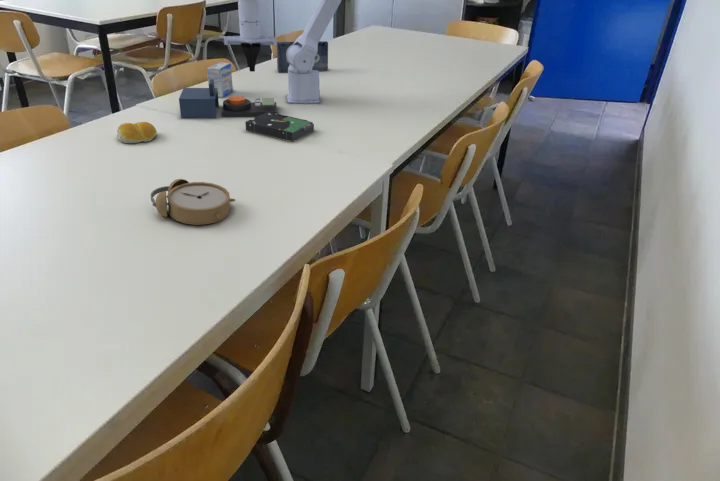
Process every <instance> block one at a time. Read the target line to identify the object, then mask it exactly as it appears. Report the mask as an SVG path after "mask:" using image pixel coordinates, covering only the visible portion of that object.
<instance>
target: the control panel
mask: <svg viewBox="0 0 720 481" xmlns="http://www.w3.org/2000/svg"><path fill="white" fill-rule="evenodd" d="M274 104H275V105H262V101H260V106H255V101H254V102H253V101H251V100H250V99H248V98H245V103H244V104H240V105H233V104H229V102H228V98H226V99H224V100H222V107H221V108H222V109H221V118H255V117H257V116H260V115H262V114H264V113H266V112H271V113H276V114H278V108H277V107H278V106H277V102H275V101H274Z"/></svg>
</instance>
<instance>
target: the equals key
mask: <svg viewBox="0 0 720 481" xmlns="http://www.w3.org/2000/svg"><path fill="white" fill-rule="evenodd" d="M227 99H228V102H229V104H233V105H240V104H244V103H245V99H246V97H245V96H241V95H233V96H229V97H228V98H227Z"/></svg>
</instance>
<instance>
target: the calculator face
mask: <svg viewBox="0 0 720 481" xmlns="http://www.w3.org/2000/svg"><path fill="white" fill-rule="evenodd" d="M254 102H255V106H260V102H262V105H275V104H274V102H275V97H262V98H261V96H255V98H254Z"/></svg>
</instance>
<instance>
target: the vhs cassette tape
mask: <svg viewBox="0 0 720 481" xmlns="http://www.w3.org/2000/svg"><path fill="white" fill-rule="evenodd" d="M294 42H295V41H277V46H276V70H277V72H278V73H279V74H280V73H281V74H282V73H288V67H289V65H290V63H289V62H288V60H287V58H286V52H287V49H288V48H289V47H290V46H291V45H292V44H294ZM312 70H317V71H319V72H327V71H328V70H329V42H328V41H321V40H320V41H319V43H318V50H317V54H316V56H315V61H314V66H313V67H312Z"/></svg>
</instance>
